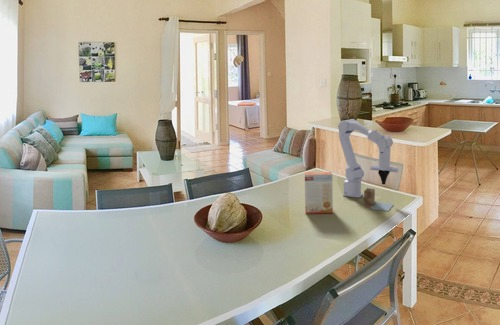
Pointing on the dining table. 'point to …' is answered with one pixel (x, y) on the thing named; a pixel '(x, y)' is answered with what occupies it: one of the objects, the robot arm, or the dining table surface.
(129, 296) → the dining table surface
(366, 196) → the brown wooden block
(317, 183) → the cracker box
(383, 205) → the mat
